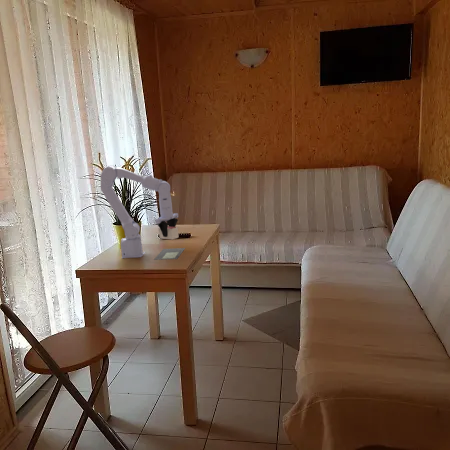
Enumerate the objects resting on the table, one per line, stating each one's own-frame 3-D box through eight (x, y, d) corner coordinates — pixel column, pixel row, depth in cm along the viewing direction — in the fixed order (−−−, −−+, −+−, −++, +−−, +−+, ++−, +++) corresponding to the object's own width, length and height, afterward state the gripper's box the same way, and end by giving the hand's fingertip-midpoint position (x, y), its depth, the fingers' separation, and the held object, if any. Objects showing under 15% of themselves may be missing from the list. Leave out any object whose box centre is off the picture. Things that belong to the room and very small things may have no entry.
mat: (153, 260, 202) (153, 259, 202) (163, 249, 219) (163, 248, 219) (177, 259, 200) (177, 258, 200) (185, 248, 218) (185, 247, 218)
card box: (159, 238, 212) (158, 227, 211) (165, 236, 216) (164, 225, 215) (172, 239, 208) (171, 228, 207) (178, 237, 212) (177, 226, 210)
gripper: (162, 210, 201) (165, 239, 204) (182, 204, 212) (184, 232, 215) (150, 209, 205) (153, 238, 207) (170, 204, 216) (173, 231, 219)
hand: (168, 235), depth 212 cm, fingers closed on card box, 4 cm apart
